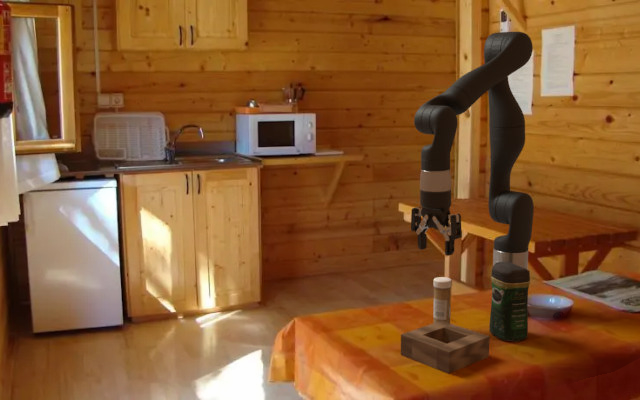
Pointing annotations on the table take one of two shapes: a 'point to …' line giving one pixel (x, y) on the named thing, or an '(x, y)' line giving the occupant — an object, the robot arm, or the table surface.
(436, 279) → the sprinkles bottle
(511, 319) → the coffee jar
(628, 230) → the table surface
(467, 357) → the well block
